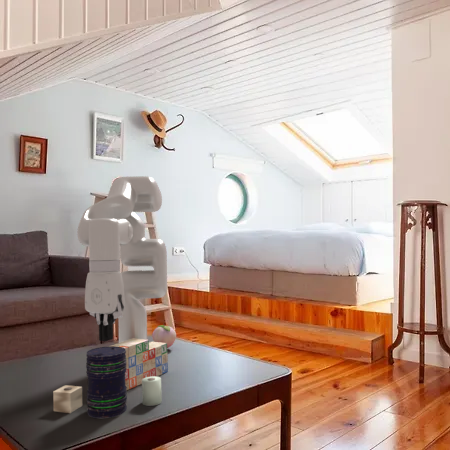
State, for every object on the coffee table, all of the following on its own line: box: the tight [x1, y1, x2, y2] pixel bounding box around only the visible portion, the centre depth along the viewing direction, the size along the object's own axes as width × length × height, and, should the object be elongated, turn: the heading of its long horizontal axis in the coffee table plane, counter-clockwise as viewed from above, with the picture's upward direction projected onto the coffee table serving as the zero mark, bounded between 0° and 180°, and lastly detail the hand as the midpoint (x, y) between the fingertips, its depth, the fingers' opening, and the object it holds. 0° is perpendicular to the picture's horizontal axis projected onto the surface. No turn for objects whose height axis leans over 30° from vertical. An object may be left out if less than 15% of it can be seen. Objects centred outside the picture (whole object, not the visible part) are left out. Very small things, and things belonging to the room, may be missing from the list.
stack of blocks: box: [110, 338, 169, 391], centre depth 141 cm, size 21×6×12 cm, turn 150°
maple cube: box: [52, 384, 83, 414], centre depth 119 cm, size 5×5×5 cm
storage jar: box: [85, 345, 128, 419], centre depth 117 cm, size 10×10×15 cm
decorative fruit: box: [151, 324, 177, 349], centre depth 177 cm, size 9×8×10 cm
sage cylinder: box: [141, 376, 163, 407], centre depth 122 cm, size 5×5×6 cm
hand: (106, 339), depth 117 cm, fingers closed
